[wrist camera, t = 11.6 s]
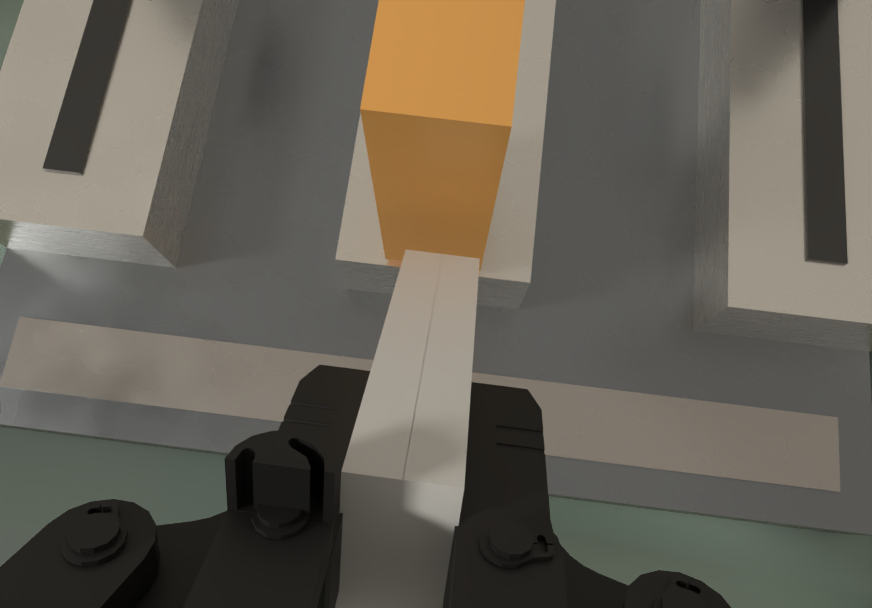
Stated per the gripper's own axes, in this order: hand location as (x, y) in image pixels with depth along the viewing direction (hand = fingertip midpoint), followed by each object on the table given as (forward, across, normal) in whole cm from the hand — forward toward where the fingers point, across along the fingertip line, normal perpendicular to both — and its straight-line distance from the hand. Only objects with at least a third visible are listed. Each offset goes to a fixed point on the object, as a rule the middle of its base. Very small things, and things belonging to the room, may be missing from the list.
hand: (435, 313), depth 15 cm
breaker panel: (+12, 0, +2) cm, 12 cm away
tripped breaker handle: (+4, 0, +1) cm, 4 cm away
